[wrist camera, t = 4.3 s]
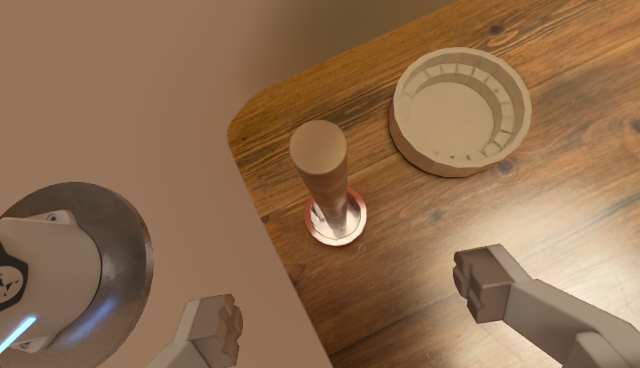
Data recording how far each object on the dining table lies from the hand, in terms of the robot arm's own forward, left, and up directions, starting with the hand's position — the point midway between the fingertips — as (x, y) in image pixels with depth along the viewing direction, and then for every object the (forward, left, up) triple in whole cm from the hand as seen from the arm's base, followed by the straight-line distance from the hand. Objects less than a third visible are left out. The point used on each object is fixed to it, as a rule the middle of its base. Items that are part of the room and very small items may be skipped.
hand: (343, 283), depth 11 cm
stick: (-1, +5, -26) cm, 26 cm away
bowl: (+14, +18, -26) cm, 35 cm away
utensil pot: (-1, +5, -26) cm, 27 cm away
